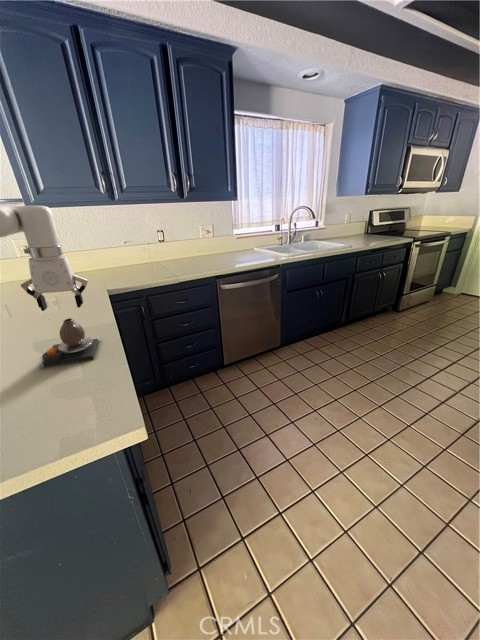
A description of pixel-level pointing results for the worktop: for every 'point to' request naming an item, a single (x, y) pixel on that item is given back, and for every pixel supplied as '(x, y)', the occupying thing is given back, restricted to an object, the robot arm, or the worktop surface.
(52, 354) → the tare button
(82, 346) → the pan
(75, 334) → the vase
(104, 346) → the worktop surface
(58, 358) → the scale
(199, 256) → the worktop surface
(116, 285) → the worktop surface
